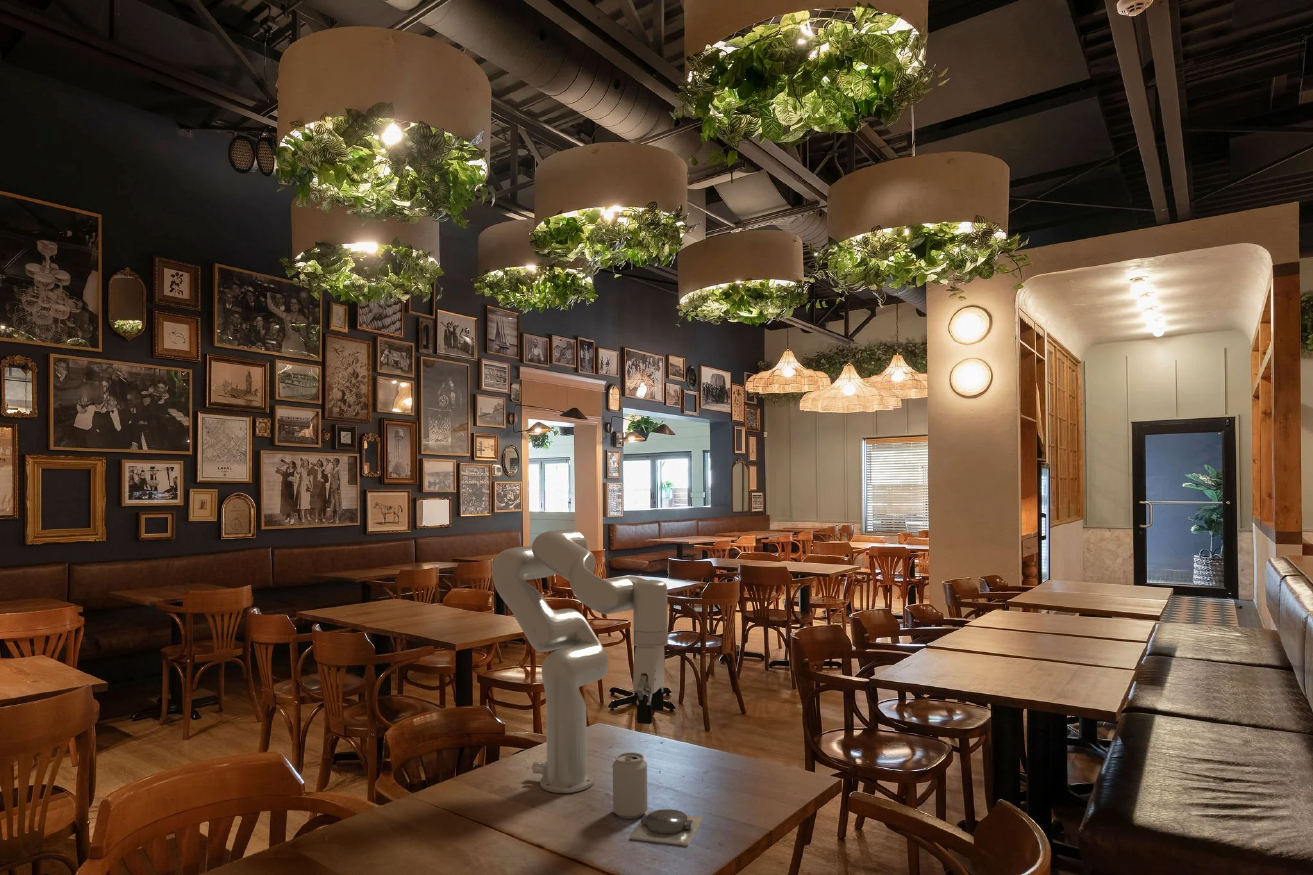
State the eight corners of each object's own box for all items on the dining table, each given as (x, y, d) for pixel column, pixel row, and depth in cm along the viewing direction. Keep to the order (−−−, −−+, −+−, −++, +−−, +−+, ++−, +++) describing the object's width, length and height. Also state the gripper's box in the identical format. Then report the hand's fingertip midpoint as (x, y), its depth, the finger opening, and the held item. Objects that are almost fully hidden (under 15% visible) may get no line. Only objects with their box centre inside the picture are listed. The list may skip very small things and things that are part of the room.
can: (653, 809, 172) (652, 752, 173) (638, 822, 165) (637, 764, 166) (622, 803, 175) (622, 748, 176) (606, 816, 168) (606, 759, 169)
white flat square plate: (630, 838, 158) (629, 826, 158) (648, 814, 169) (647, 803, 169) (688, 846, 154) (687, 833, 154) (702, 820, 166) (702, 809, 166)
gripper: (644, 629, 182) (644, 704, 182) (622, 644, 166) (622, 727, 165) (676, 630, 180) (676, 706, 180) (656, 646, 164) (657, 730, 163)
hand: (650, 716), depth 172 cm, fingers open, 9 cm apart
